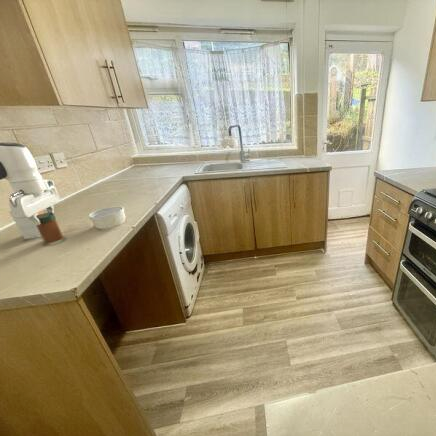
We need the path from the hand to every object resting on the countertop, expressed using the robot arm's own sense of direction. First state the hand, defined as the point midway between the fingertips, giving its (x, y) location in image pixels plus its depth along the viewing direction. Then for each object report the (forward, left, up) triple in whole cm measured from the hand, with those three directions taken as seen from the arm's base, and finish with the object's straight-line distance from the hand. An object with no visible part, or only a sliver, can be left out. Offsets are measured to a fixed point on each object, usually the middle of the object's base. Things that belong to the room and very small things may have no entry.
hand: (45, 220), depth 98 cm
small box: (-7, +12, -9) cm, 17 cm away
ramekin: (+20, +4, -9) cm, 22 cm away
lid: (0, 0, +2) cm, 2 cm away
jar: (0, 0, -9) cm, 9 cm away
